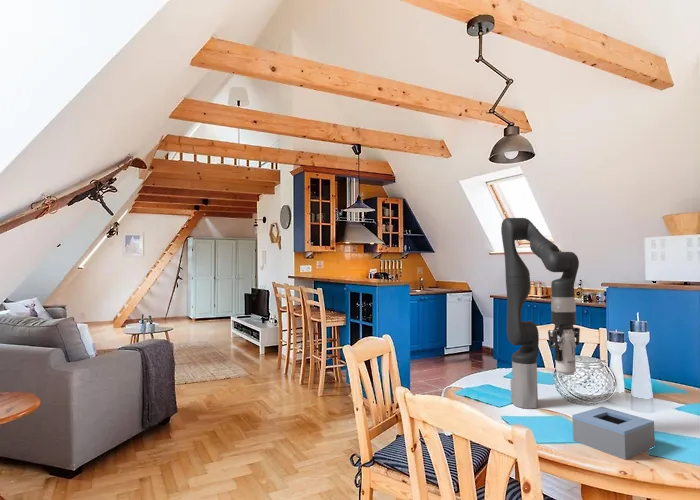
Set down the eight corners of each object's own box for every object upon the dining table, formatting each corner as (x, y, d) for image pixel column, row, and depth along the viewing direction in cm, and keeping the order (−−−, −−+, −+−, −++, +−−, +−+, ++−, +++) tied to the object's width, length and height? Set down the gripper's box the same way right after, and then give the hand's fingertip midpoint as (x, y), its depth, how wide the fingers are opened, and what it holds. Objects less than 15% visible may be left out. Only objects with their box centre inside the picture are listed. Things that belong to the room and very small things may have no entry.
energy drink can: (573, 376, 143) (571, 330, 144) (553, 373, 147) (552, 329, 147) (577, 372, 148) (576, 328, 148) (558, 370, 151) (557, 327, 152)
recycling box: (573, 440, 138) (572, 415, 138) (602, 430, 146) (601, 406, 146) (625, 459, 124) (624, 431, 125) (655, 447, 132) (653, 421, 132)
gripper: (566, 308, 155) (568, 355, 154) (539, 310, 148) (541, 360, 147) (586, 309, 148) (588, 359, 148) (559, 312, 141) (561, 364, 141)
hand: (565, 359), depth 147 cm, fingers closed on energy drink can, 6 cm apart
